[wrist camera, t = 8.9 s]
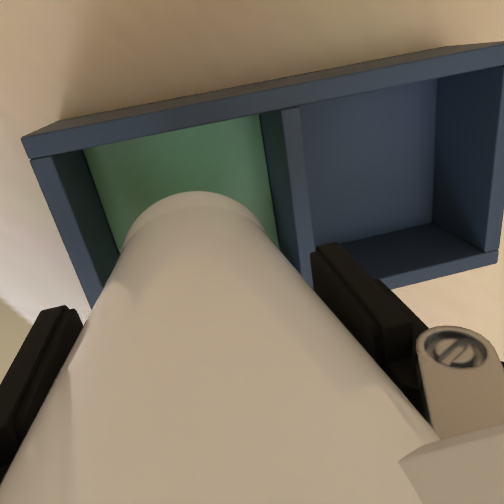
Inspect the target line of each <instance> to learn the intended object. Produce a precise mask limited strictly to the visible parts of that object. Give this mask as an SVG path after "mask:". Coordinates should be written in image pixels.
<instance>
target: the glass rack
mask: <svg viewBox="0 0 504 504" xmlns="http://www.w3.org/2000/svg"><path fill="white" fill-rule="evenodd" d="M21 141H22V143H23V146H24V148H25V151H26V153H27V155H28V158H29V159H31V160H30V163H31V166H32V168H33V171H34V173H35V175H36V178H37V180H38V183H39V185H40V187H41V190H42V192H43V195H44V197H45V199H46V202H47V204H48V207H49V209H50V211H51V214H52V216H53V219H54V221H55V223H56V226H57V228H58V231H59V233H60V235H61V238H62V240H63V243H64V245H65V247H66V250H67V252H68V254H69V257H70V259H71V262H72V264H73V266H74V269H75V271H76V274H77V276H78V278H79V281H80V283H81V286H82V288H83V290H84V293H85V295H86V298H87V300H88V302H89V305H90V307H91V310H92V309H93V307H94V305H95V303H96V301H97V299H98V297H99V295H100V293H101V291H102V289H103V287H104V286H105V284H106V282H107V280H108V278H109V276H110V274H111V272H112V270H113V268H114V266H115V264H116V262H117V260H118V257H119V254H120V250H121V247H122V244H123V241H124V239H125V236H126V234H127V232H128V230H129V229H130V227H131V226H132V224H133V223H134V221H135V220H136V219H137V218H138V216H139V215H140V214H142V213H143V212H144V211H145V210H146V209H147V208H148V207H150V206H151V205H153V204H154V203H156V202H157V201H159V200H161V199H163V198H165V197H168V196H170V195H174V194H177V193H182V192H187V191H208V192H214V193H219V194H222V195H225V196H228V197H230V198H232V199H234V200H236V201H238V202H239V203H241V204H242V205H244V206H245V207H247V208H248V209H249V210H250V211H251V212H252V213H253V214H254V215H255V216H256V217H257V218H258V219H259V221H260V222H261V223H262V225H263V227H264V228H265V230H266V231H267V233H268V235H269V237H270V238H271V240H272V241H273V242H274V243H275V245H276V246H277V247H278V248H279V249H280V251H281V252H282V253H283V254H284V255H285V257H286V258H287V259H288V260H289V261H290V263H291V264H292V265H293V266H294V267H295V268H296V270H297V271H298V272H299V273H300V274H301V275H302V277H303V278H304V279H305V280H306V281H307V282H308V284H309V285H310V286H311V287H312V288H313V281H312V272H311V263H310V253H311V252H315V249H316V246H319V245H323V244H327V243H332V242H337V243H338V244H339V245H340V246H341V247H342V248H343V249H344V250H345V251H346V252H347V253H348V254H349V255H350V256H351V257H352V258H353V259H354V260H355V261H356V262H357V263H358V265H359V266H360V267H361V268H362V269H363V270H364V271H365V272H366V273H367V274H368V275H369V276H370V277H371V278H372V279H375V278H377V279H380V280H381V281H382V282H383V283H384V284H385V285H386V286H387V287H388V288H389V289H390V290H391V289H395V288H399V287H403V286H407V285H411V284H415V283H419V282H423V281H427V280H431V279H435V278H439V277H443V276H447V275H451V274H455V273H459V272H463V271H467V270H471V269H475V268H479V267H483V266H487V265H491V264H495V263H497V260H498V252H499V251H498V249H499V244H500V236H501V228H502V220H503V212H504V41H502V42H490V43H479V44H468V45H456V46H445V47H440V48H434V49H429V50H424V51H419V52H414V53H408V54H403V55H398V56H393V57H388V58H382V59H377V60H372V61H367V62H362V63H356V64H351V65H346V66H341V67H335V68H330V69H325V70H320V71H315V72H309V73H304V74H299V75H294V76H289V77H283V78H278V79H273V80H268V81H263V82H257V83H252V84H247V85H242V86H237V87H231V88H226V89H221V90H216V91H211V92H205V93H200V94H195V95H190V96H184V97H179V98H174V99H169V100H164V101H158V102H153V103H148V104H143V105H138V106H132V107H127V108H122V109H117V110H112V111H106V112H101V113H96V114H91V115H86V116H80V117H75V118H70V119H65V120H60V121H57V122H55V123H52V124H50V125H48V126H46V127H43V128H41V129H39V130H37V131H34V132H32V133H30V134H28V135H25V136H23V137H21Z"/></svg>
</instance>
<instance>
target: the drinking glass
mask: <svg viewBox="0 0 504 504" xmlns="http://www.w3.org/2000/svg"><path fill="white" fill-rule="evenodd" d="M440 440H442V439H441V437H440V436H439V435H438V434H437V432H436V431H435V430H434V429H433V428H432V426H431V425H430V424H429V423H428V422H427V421H426V419H425V418H424V417H423V416H422V415H421V414H420V412H419V411H418V410H417V409H416V408H415V406H414V405H413V404H412V403H411V402H410V401H409V399H408V398H407V397H406V396H405V395H404V393H403V392H402V391H401V390H400V389H399V388H398V386H397V385H396V384H395V383H394V382H393V381H392V379H391V378H390V377H389V376H388V375H387V374H386V373H385V371H384V370H383V369H382V368H381V367H380V366H379V364H378V363H377V362H376V361H375V360H374V359H373V358H372V356H371V355H370V354H369V353H368V352H367V351H366V349H365V348H364V347H363V346H362V345H361V344H360V343H359V341H358V340H357V339H356V338H355V337H354V336H353V335H352V333H351V332H350V331H349V330H348V329H347V328H346V326H345V325H344V324H343V323H342V322H341V321H340V320H339V318H338V317H337V316H336V315H335V314H334V313H333V311H332V310H331V309H330V308H329V307H328V306H327V305H326V303H325V302H324V301H323V300H322V299H321V298H320V296H319V295H318V294H317V293H316V292H315V291H314V289H313V288H312V287H311V286H310V285H309V284H308V282H307V281H306V280H305V279H304V278H303V277H302V275H301V274H300V273H299V272H298V271H297V270H296V268H295V267H294V266H293V265H292V264H291V263H290V261H289V260H288V259H287V258H286V257H285V255H284V254H283V253H282V252H281V251H280V249H279V248H278V247H277V246H276V245H275V243H274V242H273V241H272V240H271V238H270V237H269V235H268V233H267V231H266V230H265V228H264V227H263V225H262V223H261V222H260V221H259V219H258V218H257V217H256V216H255V215H254V214H253V213H252V212H251V211H250V210H249V209H248V208H247V207H245V206H244V205H242V204H241V203H239V202H238V201H236V200H234V199H232V198H230V197H228V196H225V195H222V194H219V193H214V192H208V191H187V192H182V193H177V194H174V195H170V196H168V197H165V198H163V199H161V200H159V201H157V202H156V203H154V204H153V205H151V206H150V207H148V208H147V209H146V210H145V211H144V212H143V213H142V214H140V215H139V216H138V218H137V219H136V220H135V221H134V223H133V224H132V226H131V227H130V229H129V230H128V232H127V234H126V236H125V239H124V241H123V244H122V247H121V250H120V254H119V257H118V260H117V262H116V264H115V266H114V268H113V270H112V272H111V274H110V276H109V278H108V280H107V282H106V284H105V286H104V287H103V289H102V291H101V293H100V295H99V297H98V299H97V301H96V303H95V305H94V307H93V309H92V311H91V313H90V314H89V316H88V318H87V320H86V322H85V324H84V326H83V328H82V330H81V332H80V334H79V336H78V337H77V339H76V341H75V343H74V345H73V347H72V349H71V351H70V353H69V354H68V356H67V358H66V360H65V362H64V364H63V366H62V368H61V370H60V371H59V373H58V375H57V377H56V379H55V381H54V383H53V385H52V387H51V388H50V390H49V392H48V394H47V396H46V398H45V400H44V402H43V404H42V405H41V407H40V409H39V411H38V413H37V415H36V417H35V419H34V421H33V422H32V424H31V426H30V428H29V430H28V432H27V434H26V436H25V438H24V440H23V441H22V443H21V445H20V447H19V449H18V451H17V453H16V455H15V457H14V459H13V461H12V462H11V464H10V466H9V468H8V470H7V472H6V474H5V476H4V478H3V480H2V482H1V484H0V504H423V503H422V501H421V499H420V498H419V496H418V494H417V493H416V491H415V489H414V487H413V486H412V484H411V482H410V481H409V479H408V478H407V476H406V474H405V473H404V471H403V469H402V468H401V466H400V465H399V463H398V461H399V460H400V459H402V458H403V457H404V456H406V455H407V454H409V453H411V452H412V451H414V450H415V449H417V448H419V447H421V446H422V445H425V444H429V443H432V442H436V441H440Z"/></svg>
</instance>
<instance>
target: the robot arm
mask: <svg viewBox="0 0 504 504" xmlns="http://www.w3.org/2000/svg"><path fill="white" fill-rule="evenodd" d="M310 263H311V272H312V281H313V289H314V291H315V292H316V293H317V294H318V295H319V296H320V298H321V299H322V300H323V301H324V302H325V303H326V305H327V306H328V307H329V308H330V309H331V310H332V311H333V313H334V314H335V315H336V316H337V317H338V318H339V320H340V321H341V322H342V323H343V324H344V325H345V326H346V328H347V329H348V330H349V331H350V332H351V333H352V335H353V336H354V337H355V338H356V339H357V340H358V341H359V343H360V344H361V345H362V346H363V347H364V348H365V349H366V351H367V352H368V353H369V354H370V355H371V356H372V358H373V359H374V360H375V361H376V362H377V363H378V364H379V366H380V367H381V368H382V369H383V370H384V371H385V373H386V374H387V375H388V376H389V377H390V378H391V379H392V381H393V382H394V383H395V384H396V385H397V386H398V388H399V389H400V390H401V391H402V392H403V393H404V395H405V396H406V397H407V398H408V399H409V401H410V402H411V403H412V404H413V405H414V406H415V408H416V409H417V410H418V411H419V412H420V414H421V415H422V416H423V417H424V418H425V419H426V421H427V422H428V423H429V424H430V425H431V426H432V428H433V429H434V430H435V431H436V432H437V434H438V435H439V436H440V437H441V439H442V440H440V441H436V442H432V443H429V444H425V445H422V446H421V447H419V448H417V449H415V450H414V451H412V452H411V453H409V454H407V455H406V456H404V457H403V458H402V459H400V460H399V461H398V463H399V465H400V466H401V468H402V469H403V471H404V473H405V474H406V476H407V478H408V479H409V481H410V482H411V484H412V486H413V487H414V489H415V491H416V493H417V494H418V496H419V498H420V499H421V501H422V503H423V504H504V362H502V361H500V359H499V357H498V355H497V352H496V350H495V348H494V347H493V346H492V344H491V343H490V341H488V340H487V339H486V338H485V337H483V336H482V335H480V334H478V333H476V332H474V331H472V330H469V329H466V328H462V327H457V326H437V327H433V328H430V329H429V328H428V327H427V326H426V325H425V324H424V323H423V322H422V321H421V320H420V319H419V318H418V317H417V316H416V315H415V314H414V313H413V312H412V311H411V310H410V309H409V308H408V307H407V306H406V305H405V304H404V303H403V302H402V301H401V300H400V299H399V298H398V297H397V296H396V295H395V294H394V293H393V292H392V291H391V290H390V289H389V288H388V287H387V286H386V285H385V284H384V283H383V282H382V281H381V280H380V279H377V278H375V279H372V278H371V277H370V276H369V275H368V274H367V273H366V272H365V271H364V270H363V269H362V268H361V267H360V266H359V265H358V263H357V262H356V261H355V260H354V259H353V258H352V257H351V256H350V255H349V254H348V253H347V252H346V251H345V250H344V249H343V248H342V247H341V246H340V245H339V244H338V243H337V242H332V243H327V244H323V245H319V246H316V249H315V252H311V253H310ZM82 328H83V324H82V322H81V320H80V317H79V315H78V313H77V311H76V310H75V309H69V308H68V307H67V306H65V305H63V306H59V307H55V308H50V309H46V310H42V311H41V312H40V313H39V315H38V317H37V319H36V321H35V323H34V324H33V326H32V328H31V330H30V332H29V334H28V335H27V337H26V339H25V341H24V343H23V345H22V346H21V348H20V350H19V352H18V353H17V355H16V357H15V359H14V361H13V363H12V364H11V366H10V368H9V370H8V372H7V374H6V375H5V377H4V379H3V381H2V383H1V384H0V484H1V482H2V480H3V478H4V476H5V474H6V472H7V470H8V468H9V466H10V464H11V462H12V461H13V459H14V457H15V455H16V453H17V451H18V449H19V447H20V445H21V443H22V441H23V440H24V438H25V436H26V434H27V432H28V430H29V428H30V426H31V424H32V422H33V421H34V419H35V417H36V415H37V413H38V411H39V409H40V407H41V405H42V404H43V402H44V400H45V398H46V396H47V394H48V392H49V390H50V388H51V387H52V385H53V383H54V381H55V379H56V377H57V375H58V373H59V371H60V370H61V368H62V366H63V364H64V362H65V360H66V358H67V356H68V354H69V353H70V351H71V349H72V347H73V345H74V343H75V341H76V339H77V337H78V336H79V334H80V332H81V330H82Z"/></svg>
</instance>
